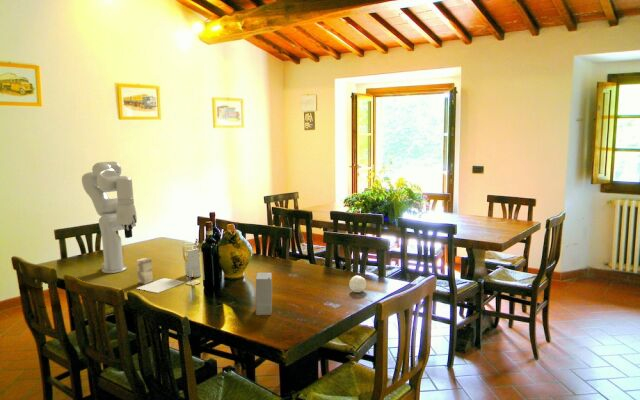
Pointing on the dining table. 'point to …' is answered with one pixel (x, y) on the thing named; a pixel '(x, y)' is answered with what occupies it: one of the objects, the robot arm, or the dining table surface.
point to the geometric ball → (357, 284)
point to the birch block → (144, 271)
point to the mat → (160, 285)
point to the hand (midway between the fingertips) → (128, 237)
